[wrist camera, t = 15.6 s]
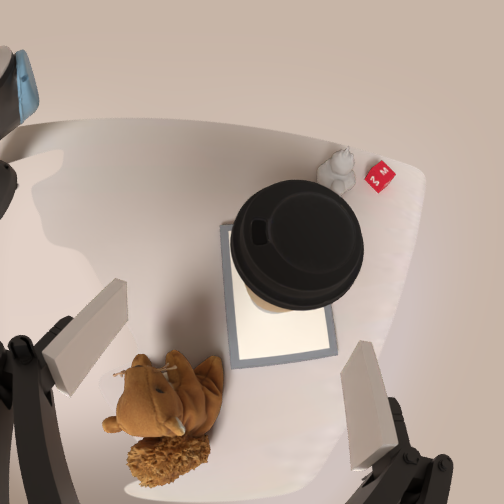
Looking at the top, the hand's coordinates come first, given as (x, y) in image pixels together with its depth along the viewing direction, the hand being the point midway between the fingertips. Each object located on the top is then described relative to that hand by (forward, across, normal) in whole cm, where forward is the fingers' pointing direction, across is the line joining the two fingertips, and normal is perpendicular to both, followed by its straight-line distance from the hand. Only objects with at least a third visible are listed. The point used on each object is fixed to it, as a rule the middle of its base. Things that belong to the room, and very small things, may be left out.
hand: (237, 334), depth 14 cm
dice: (+31, +15, +7) cm, 35 cm away
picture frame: (+17, +3, -7) cm, 18 cm away
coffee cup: (+16, +3, -6) cm, 17 cm away
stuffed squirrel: (+5, -4, -18) cm, 20 cm away
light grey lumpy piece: (+29, +8, +5) cm, 30 cm away
